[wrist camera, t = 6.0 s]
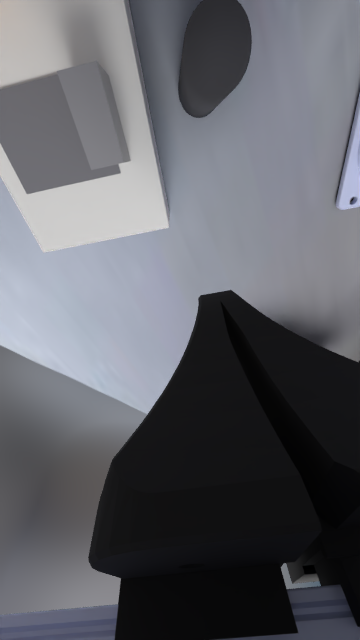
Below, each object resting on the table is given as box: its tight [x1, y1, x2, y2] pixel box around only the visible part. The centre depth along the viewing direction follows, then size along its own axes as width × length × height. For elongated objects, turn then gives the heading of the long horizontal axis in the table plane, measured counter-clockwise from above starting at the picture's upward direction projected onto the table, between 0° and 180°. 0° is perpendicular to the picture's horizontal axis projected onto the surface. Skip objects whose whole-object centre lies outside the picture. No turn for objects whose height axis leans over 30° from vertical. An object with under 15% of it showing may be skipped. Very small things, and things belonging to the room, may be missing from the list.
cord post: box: [178, 0, 252, 118], centre depth 10 cm, size 2×2×6 cm
